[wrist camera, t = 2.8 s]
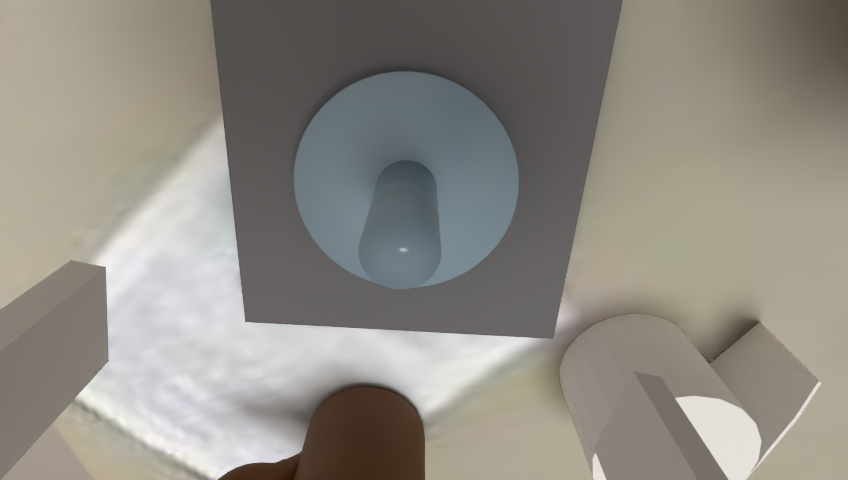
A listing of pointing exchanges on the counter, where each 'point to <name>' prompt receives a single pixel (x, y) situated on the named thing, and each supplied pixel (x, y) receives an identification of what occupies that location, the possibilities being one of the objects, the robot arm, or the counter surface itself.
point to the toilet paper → (689, 386)
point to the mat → (429, 52)
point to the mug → (353, 442)
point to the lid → (406, 179)
